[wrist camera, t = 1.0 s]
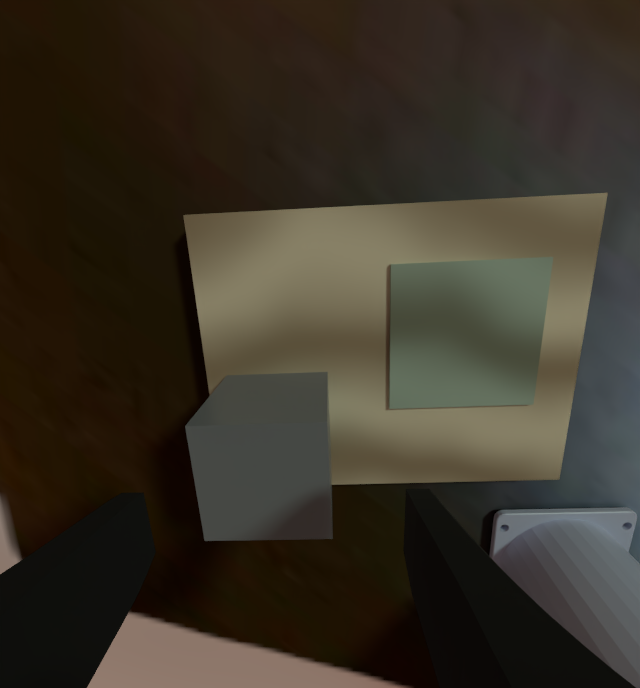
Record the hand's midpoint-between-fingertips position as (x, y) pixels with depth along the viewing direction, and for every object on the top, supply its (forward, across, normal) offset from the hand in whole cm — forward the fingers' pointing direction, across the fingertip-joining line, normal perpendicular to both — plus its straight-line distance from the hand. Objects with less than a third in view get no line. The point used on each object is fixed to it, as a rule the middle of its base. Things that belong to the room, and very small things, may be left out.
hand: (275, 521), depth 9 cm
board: (+9, -4, -2) cm, 11 cm away
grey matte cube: (+8, +1, +1) cm, 8 cm away
